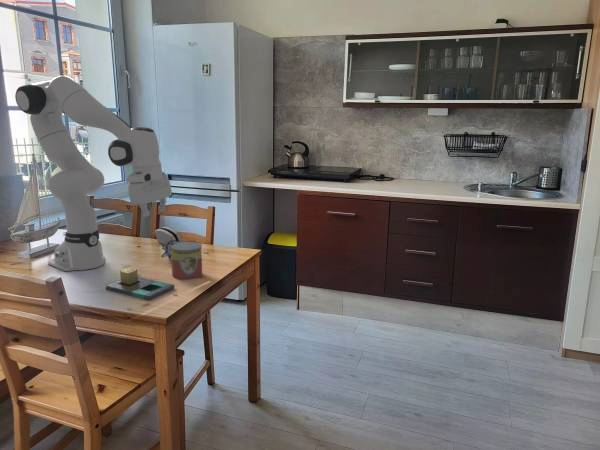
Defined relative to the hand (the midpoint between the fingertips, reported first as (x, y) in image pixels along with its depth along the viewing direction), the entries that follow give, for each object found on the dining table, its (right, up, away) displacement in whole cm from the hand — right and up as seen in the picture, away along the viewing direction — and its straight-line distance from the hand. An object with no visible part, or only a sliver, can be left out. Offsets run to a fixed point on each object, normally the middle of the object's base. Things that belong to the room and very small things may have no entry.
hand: (154, 213), depth 163 cm
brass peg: (-9, -26, 0) cm, 27 cm away
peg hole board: (-4, -27, -2) cm, 27 cm away
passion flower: (-1, -19, +33) cm, 38 cm away
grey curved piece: (-10, -14, +54) cm, 57 cm away
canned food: (+8, -24, +14) cm, 29 cm away
